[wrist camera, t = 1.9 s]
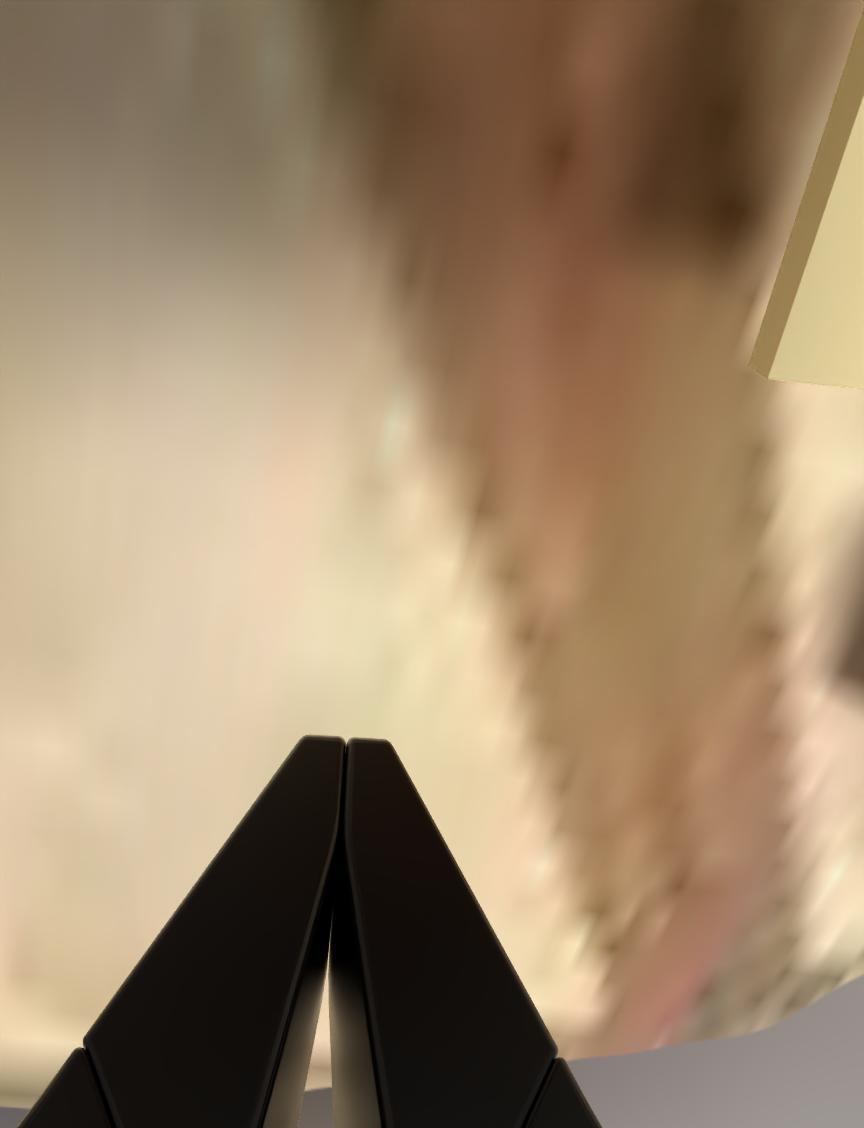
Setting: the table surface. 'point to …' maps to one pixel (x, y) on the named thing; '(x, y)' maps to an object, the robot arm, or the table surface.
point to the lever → (824, 257)
